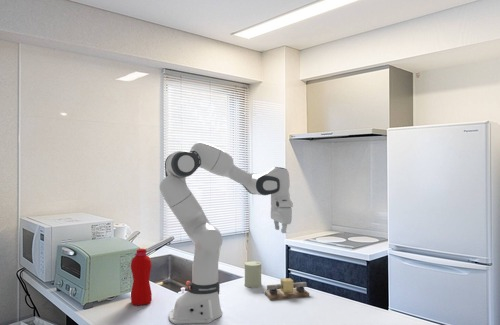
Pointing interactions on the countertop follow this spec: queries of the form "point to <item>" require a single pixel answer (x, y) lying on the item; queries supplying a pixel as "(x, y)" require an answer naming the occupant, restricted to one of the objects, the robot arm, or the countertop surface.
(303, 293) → the shaft mount
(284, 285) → the block
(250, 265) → the can
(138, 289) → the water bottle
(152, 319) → the countertop surface
